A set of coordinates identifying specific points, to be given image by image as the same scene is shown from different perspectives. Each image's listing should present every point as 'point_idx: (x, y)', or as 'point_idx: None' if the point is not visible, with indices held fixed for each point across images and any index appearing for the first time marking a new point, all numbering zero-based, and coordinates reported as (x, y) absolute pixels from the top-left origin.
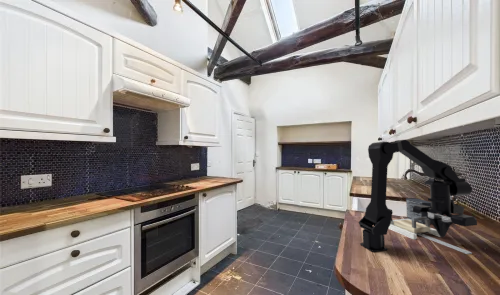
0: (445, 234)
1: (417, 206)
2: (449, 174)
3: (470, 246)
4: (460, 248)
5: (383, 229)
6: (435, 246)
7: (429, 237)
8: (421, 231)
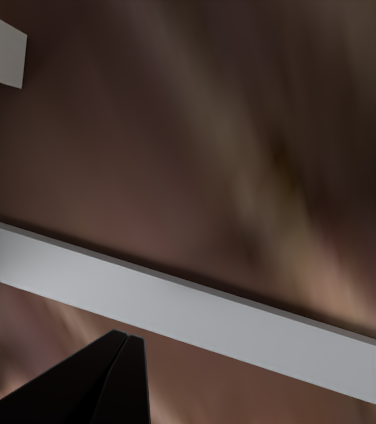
0: (144, 373)
1: None
2: None
3: (350, 115)
4: (315, 335)
5: None
6: (155, 418)
7: (10, 260)
8: None
